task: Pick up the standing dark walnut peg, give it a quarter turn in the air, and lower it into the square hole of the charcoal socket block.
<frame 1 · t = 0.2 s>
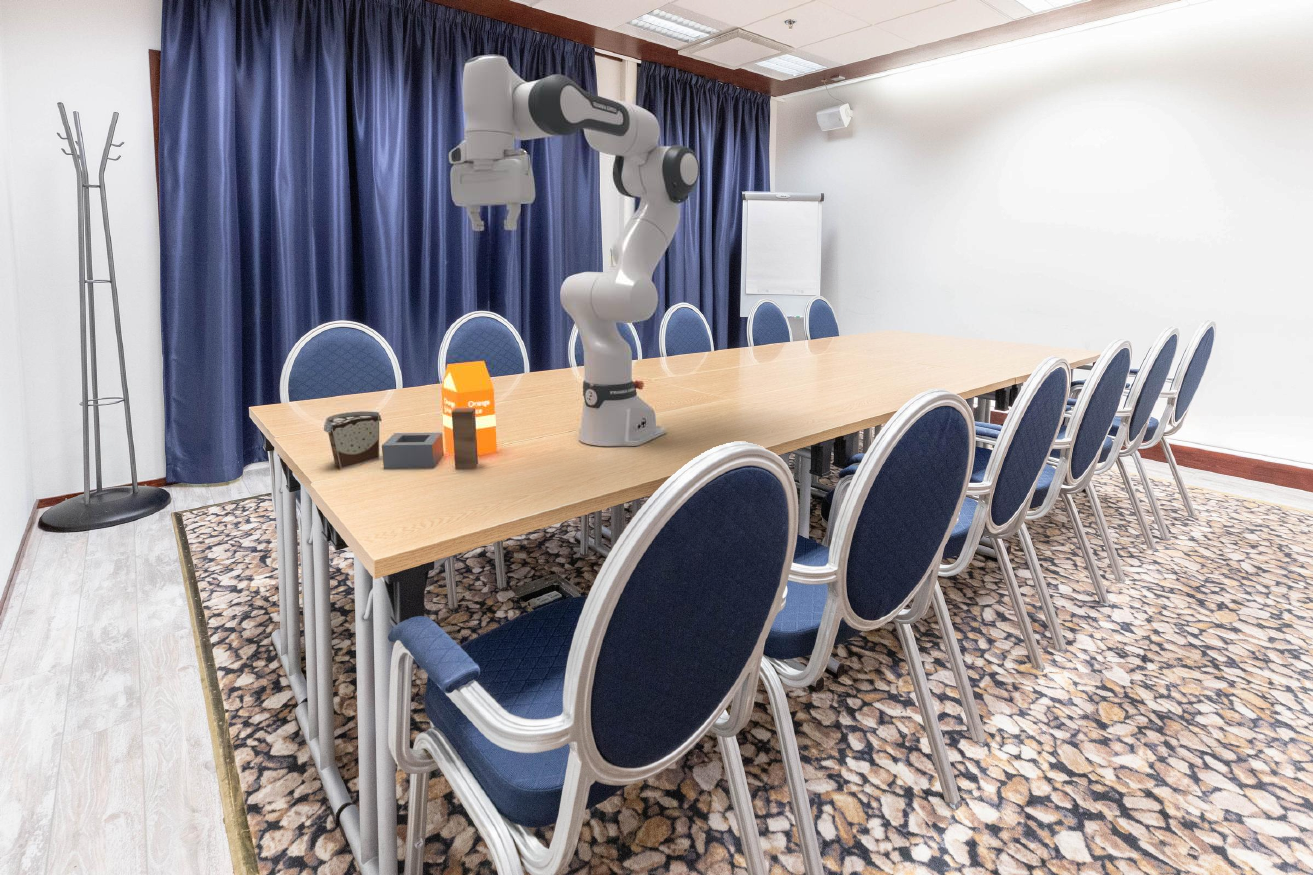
hand: (494, 230, 131), 47 cm above the table, fingers open, 8 cm apart
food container: (351, 462, 146), on the table
peg: (466, 466, 144), on the table
orange juice: (471, 452, 154), on the table
socket: (414, 461, 146), on the table
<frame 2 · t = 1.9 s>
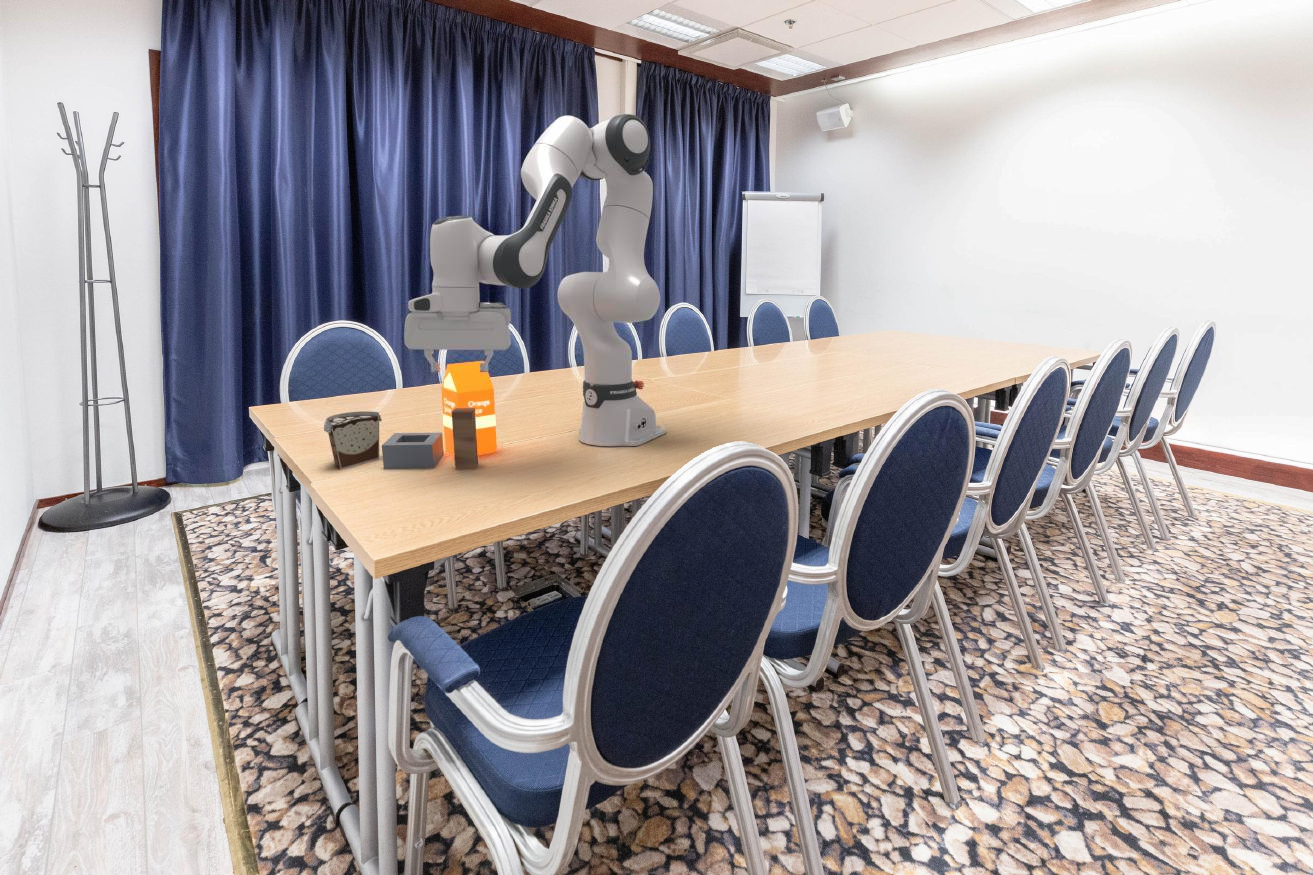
hand: (460, 372, 139), 20 cm above the table, fingers open, 8 cm apart
nothing on the table moved.
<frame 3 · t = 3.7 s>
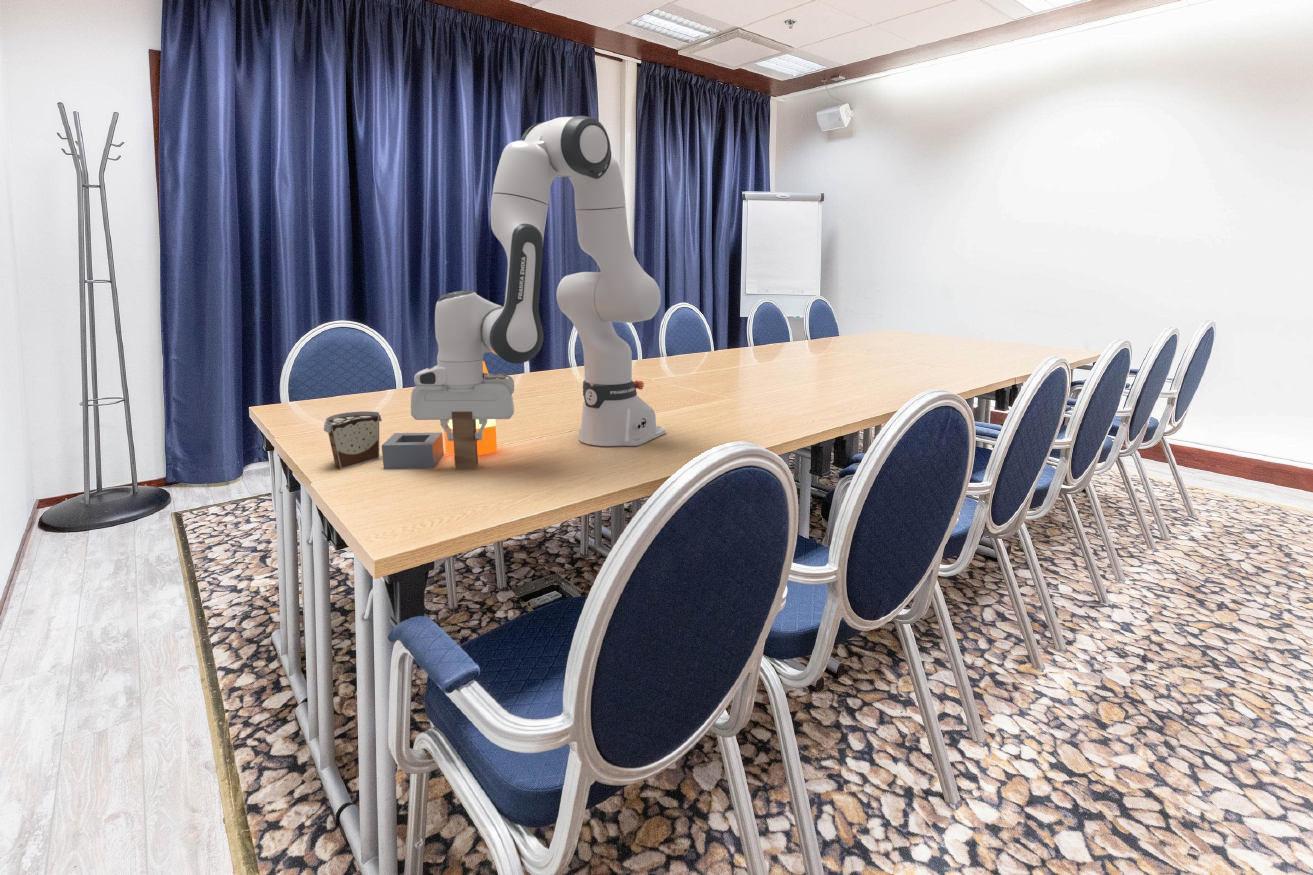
hand: (465, 439, 142), 6 cm above the table, fingers closed on peg, 4 cm apart
peg: (466, 466, 144), on the table, touching gripper
everything else where it was.
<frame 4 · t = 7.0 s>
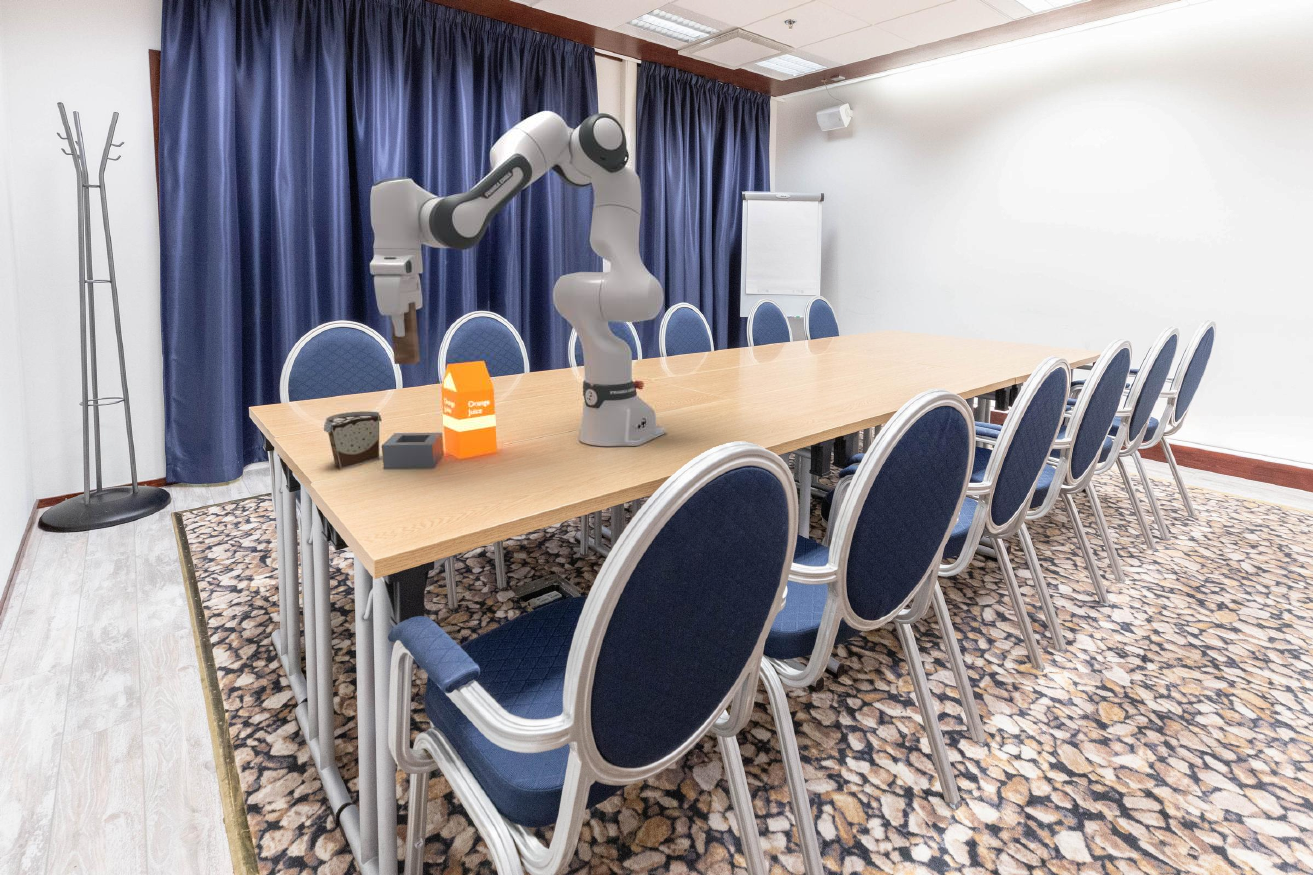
hand: (404, 334, 140), 27 cm above the table, fingers closed on peg, 4 cm apart
peg: (407, 362, 141), point 21 cm above the table, touching gripper
everything else where it was.
when the fingers open (7 cm above the table, at t = 10.3 s): peg drops 1 cm, resting in socket.
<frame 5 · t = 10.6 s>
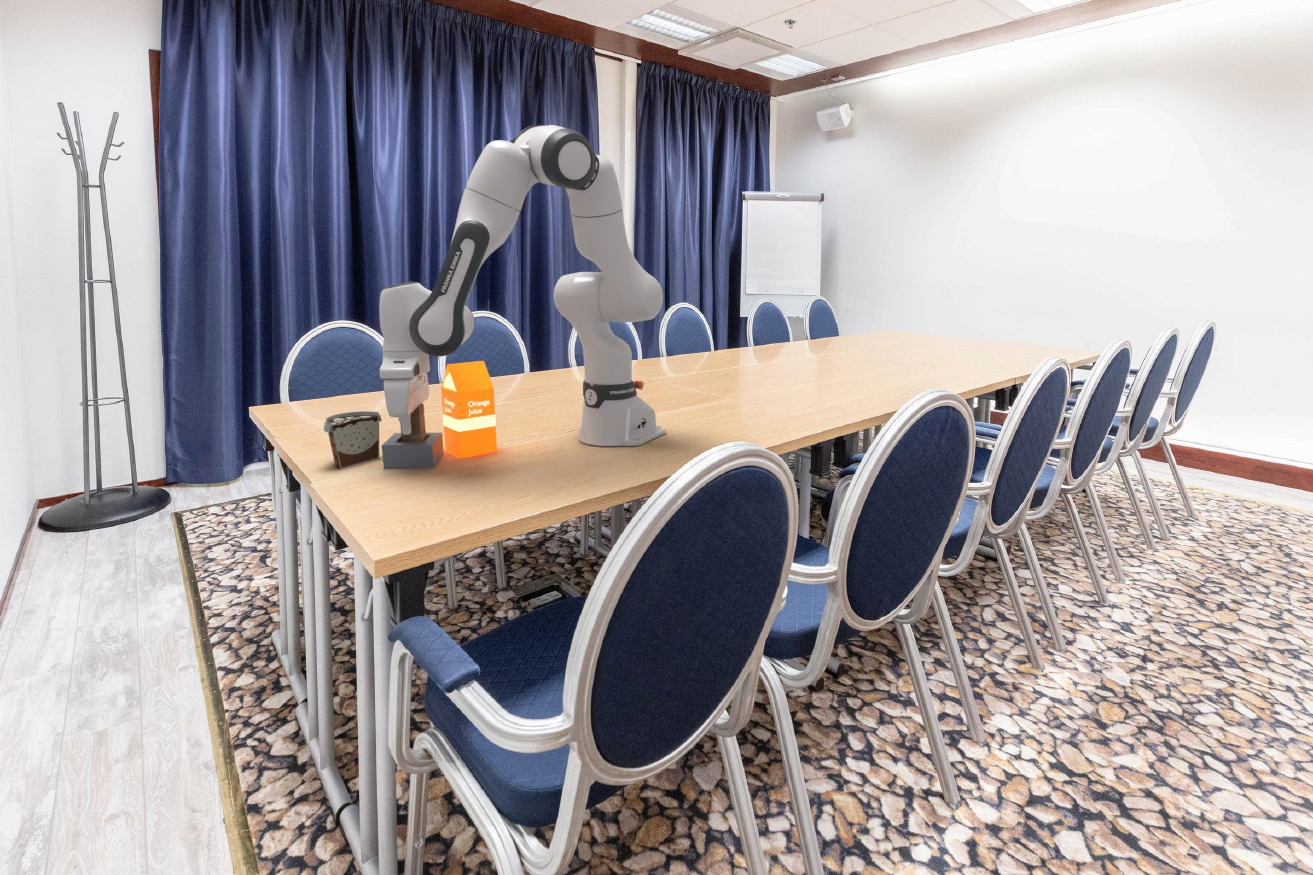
hand: (412, 429, 145), 7 cm above the table, fingers open, 7 cm apart
peg: (415, 461, 147), resting in socket
everything else where it was.
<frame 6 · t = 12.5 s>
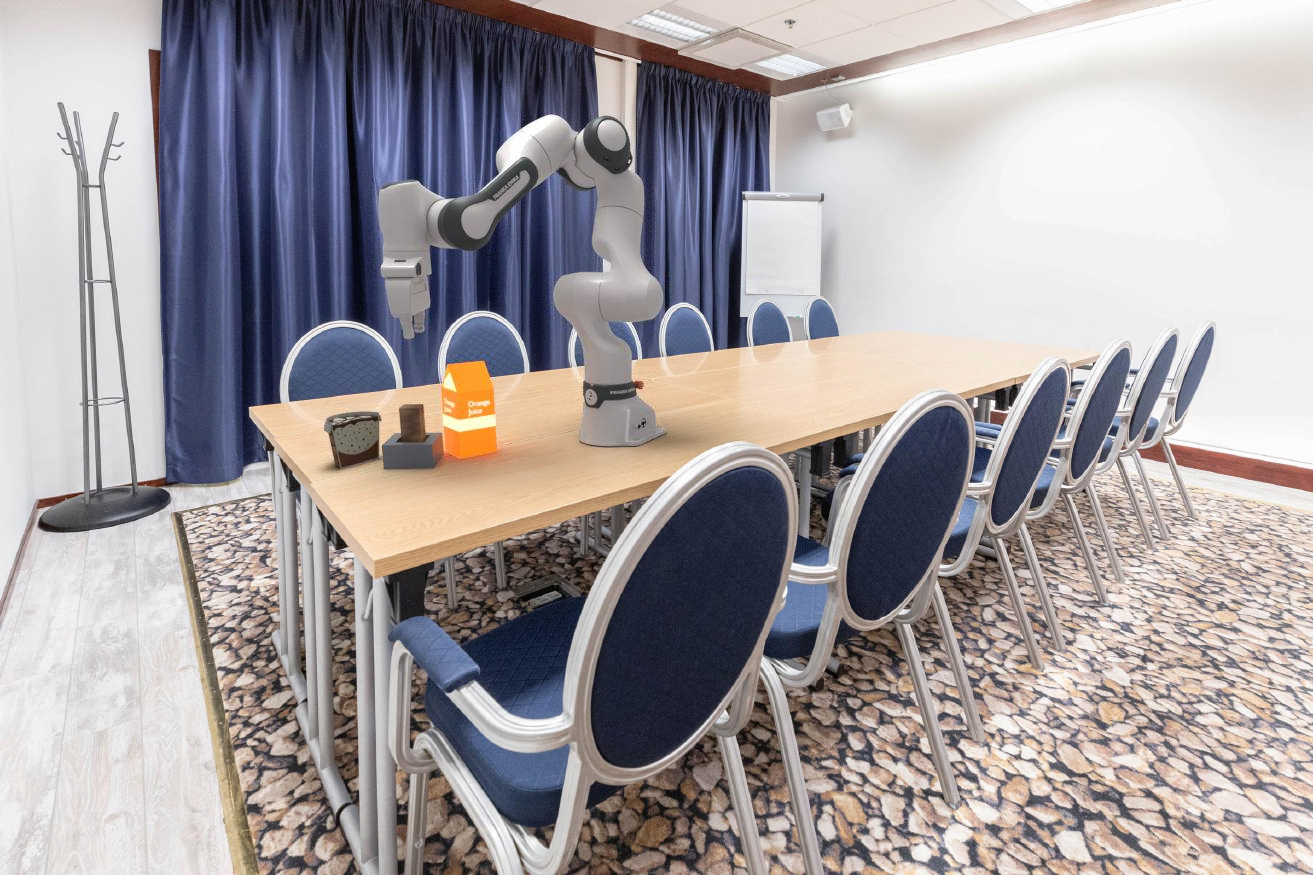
hand: (414, 335, 142), 26 cm above the table, fingers open, 8 cm apart
nothing on the table moved.
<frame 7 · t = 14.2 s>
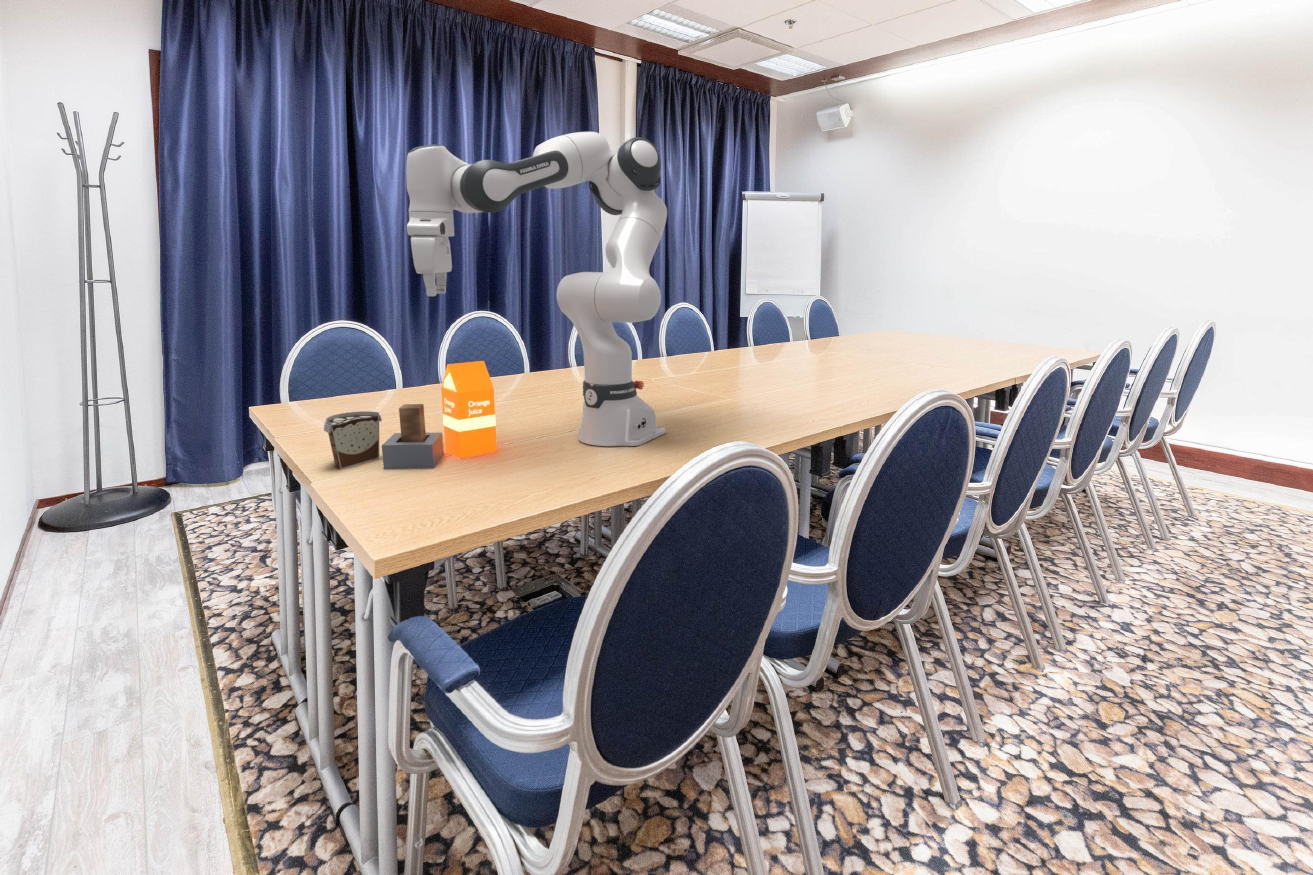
hand: (436, 295, 148), 34 cm above the table, fingers open, 8 cm apart
nothing on the table moved.
at the end: peg 0.2 cm off-centre on the socket, point 0.0 cm above the socket's base; peg tilted 0°; the gripper is holding nothing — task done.
